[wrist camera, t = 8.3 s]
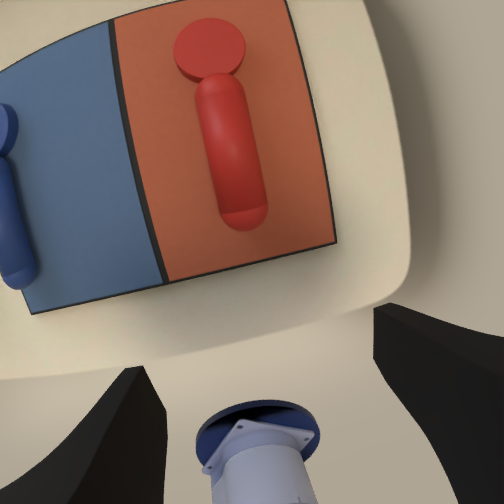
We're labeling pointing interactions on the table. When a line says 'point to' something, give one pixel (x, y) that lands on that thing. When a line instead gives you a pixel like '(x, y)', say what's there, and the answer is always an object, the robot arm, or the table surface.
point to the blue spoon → (12, 214)
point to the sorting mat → (156, 155)
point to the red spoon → (224, 118)
